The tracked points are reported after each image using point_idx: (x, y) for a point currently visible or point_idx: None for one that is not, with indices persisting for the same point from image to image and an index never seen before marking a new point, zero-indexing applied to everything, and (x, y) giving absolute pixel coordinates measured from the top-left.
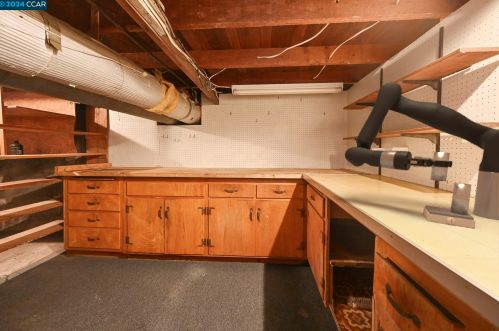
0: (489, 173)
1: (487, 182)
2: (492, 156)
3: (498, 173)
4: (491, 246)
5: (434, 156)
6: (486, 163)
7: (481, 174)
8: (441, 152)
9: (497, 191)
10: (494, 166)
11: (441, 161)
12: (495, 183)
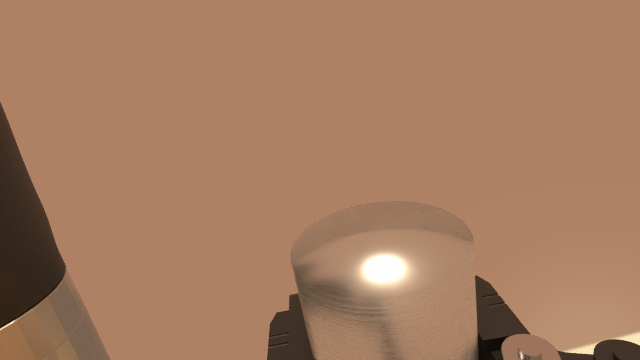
0: (44, 308)
1: (65, 357)
2: (4, 207)
3: (65, 281)
4: (592, 350)
5: (470, 322)
6: (6, 265)
7: (3, 350)
8: (458, 218)
9: (103, 357)
10: (40, 258)
11: (481, 301)
12: (85, 332)
